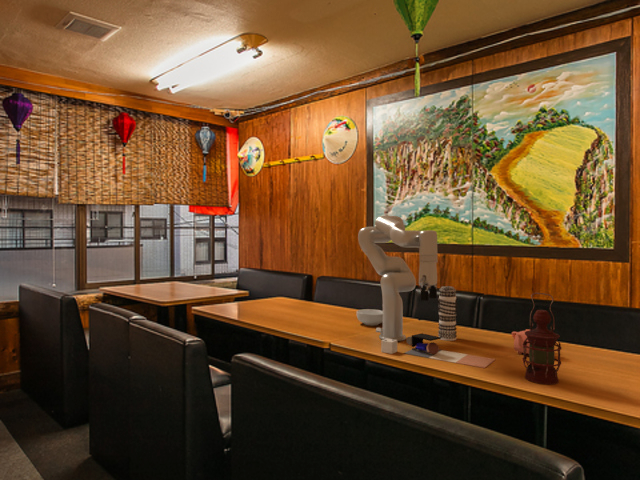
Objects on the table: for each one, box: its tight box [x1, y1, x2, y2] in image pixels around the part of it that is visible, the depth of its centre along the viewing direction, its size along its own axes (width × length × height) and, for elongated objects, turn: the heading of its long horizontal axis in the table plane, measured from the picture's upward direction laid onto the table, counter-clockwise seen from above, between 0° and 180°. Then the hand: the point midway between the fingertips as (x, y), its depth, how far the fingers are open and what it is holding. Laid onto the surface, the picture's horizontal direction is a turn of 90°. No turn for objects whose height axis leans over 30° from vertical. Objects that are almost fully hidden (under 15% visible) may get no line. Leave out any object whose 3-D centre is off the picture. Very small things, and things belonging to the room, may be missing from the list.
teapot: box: [511, 328, 531, 355], centre depth 185 cm, size 14×12×10 cm
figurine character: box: [405, 333, 441, 355], centre depth 187 cm, size 7×8×15 cm
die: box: [380, 338, 398, 355], centre depth 188 cm, size 5×5×5 cm
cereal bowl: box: [356, 308, 383, 327], centre depth 245 cm, size 17×17×7 cm
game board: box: [403, 348, 496, 369], centre depth 180 cm, size 33×14×1 cm, turn 53°
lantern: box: [522, 292, 563, 386], centre depth 152 cm, size 12×12×30 cm
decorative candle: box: [437, 285, 459, 342], centre depth 211 cm, size 9×9×25 cm
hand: (429, 299), depth 188 cm, fingers open, 9 cm apart
